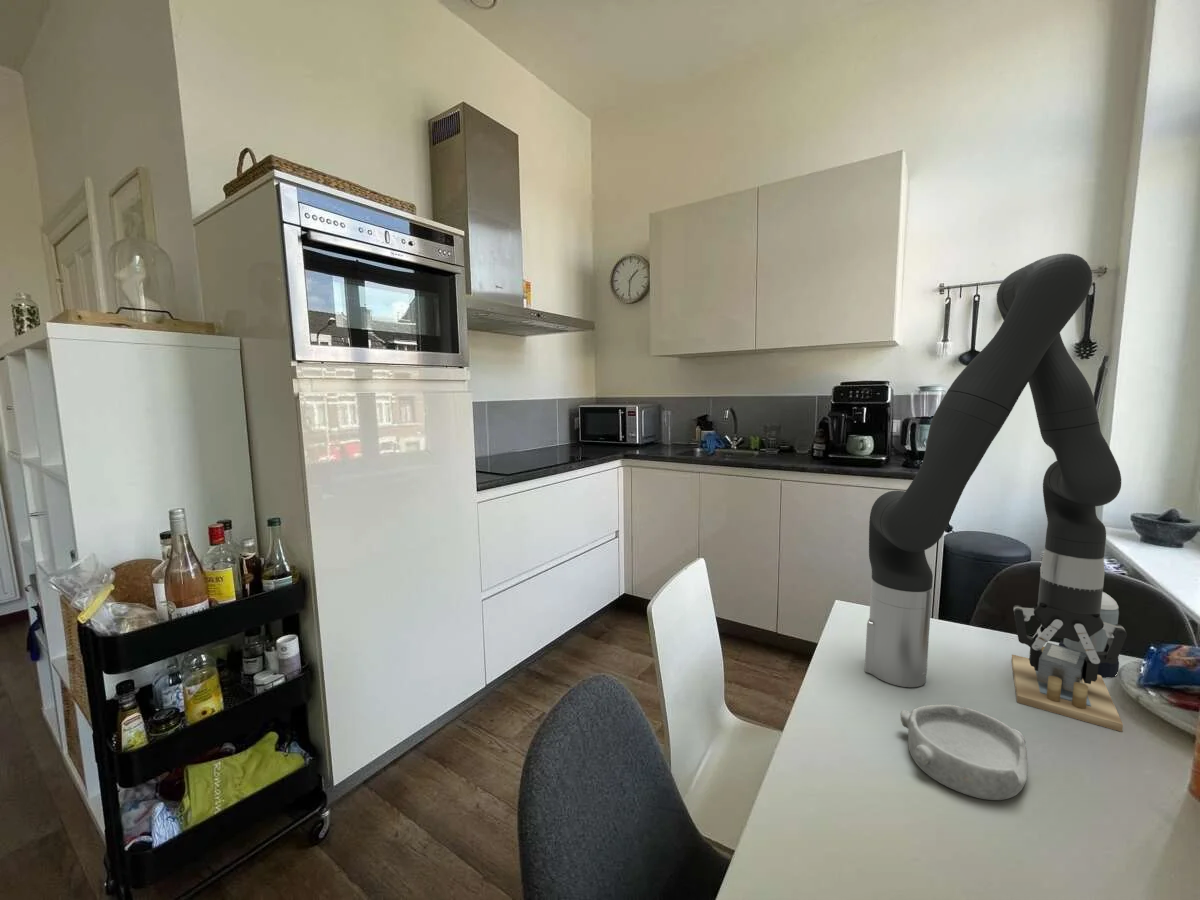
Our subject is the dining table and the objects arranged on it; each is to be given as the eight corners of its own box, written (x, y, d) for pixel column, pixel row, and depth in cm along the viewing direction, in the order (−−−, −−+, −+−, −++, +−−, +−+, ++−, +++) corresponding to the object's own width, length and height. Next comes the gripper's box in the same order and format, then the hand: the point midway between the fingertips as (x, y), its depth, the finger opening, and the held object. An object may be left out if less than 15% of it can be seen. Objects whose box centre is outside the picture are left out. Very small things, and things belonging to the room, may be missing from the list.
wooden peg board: (1122, 731, 73) (1125, 702, 73) (1017, 702, 80) (1019, 675, 80) (1100, 682, 86) (1103, 656, 85) (1011, 660, 93) (1013, 636, 92)
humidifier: (1051, 663, 92) (1063, 533, 89) (1062, 649, 97) (1074, 526, 94) (1113, 683, 85) (1128, 544, 83) (1121, 667, 90) (1136, 535, 88)
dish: (1018, 752, 69) (1020, 719, 69) (1044, 826, 58) (1048, 787, 57) (898, 719, 77) (900, 689, 76) (900, 778, 65) (902, 743, 64)
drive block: (1037, 680, 82) (1039, 657, 82) (1045, 663, 87) (1047, 641, 87) (1078, 694, 78) (1080, 670, 78) (1084, 675, 84) (1086, 652, 83)
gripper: (1015, 576, 82) (1007, 671, 84) (1140, 596, 74) (1128, 702, 75) (1012, 564, 88) (1005, 652, 90) (1128, 581, 80) (1117, 679, 81)
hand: (1061, 674), depth 83 cm, fingers closed on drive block, 5 cm apart
